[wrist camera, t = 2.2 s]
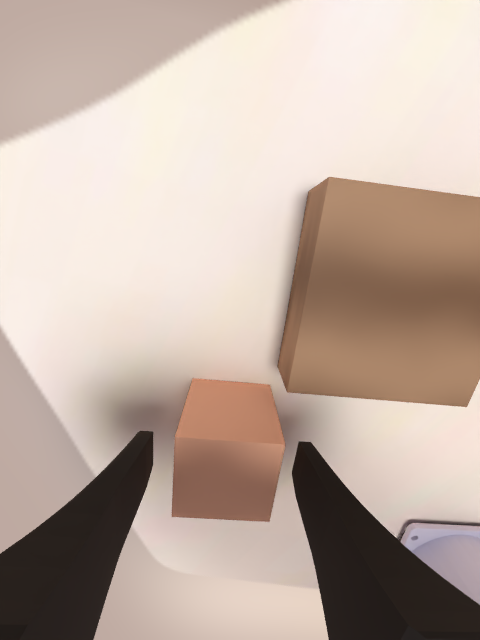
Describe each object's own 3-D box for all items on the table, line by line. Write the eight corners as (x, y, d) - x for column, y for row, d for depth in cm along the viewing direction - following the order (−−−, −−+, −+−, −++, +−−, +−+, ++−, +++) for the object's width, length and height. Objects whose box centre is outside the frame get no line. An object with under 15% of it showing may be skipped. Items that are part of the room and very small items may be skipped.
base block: (427, 379, 14) (466, 407, 12) (277, 366, 14) (287, 392, 11) (491, 215, 12) (558, 208, 9) (308, 191, 11) (329, 176, 9)
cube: (259, 444, 16) (269, 521, 11) (189, 440, 15) (171, 516, 11) (269, 384, 14) (285, 444, 10) (193, 377, 14) (174, 437, 10)
